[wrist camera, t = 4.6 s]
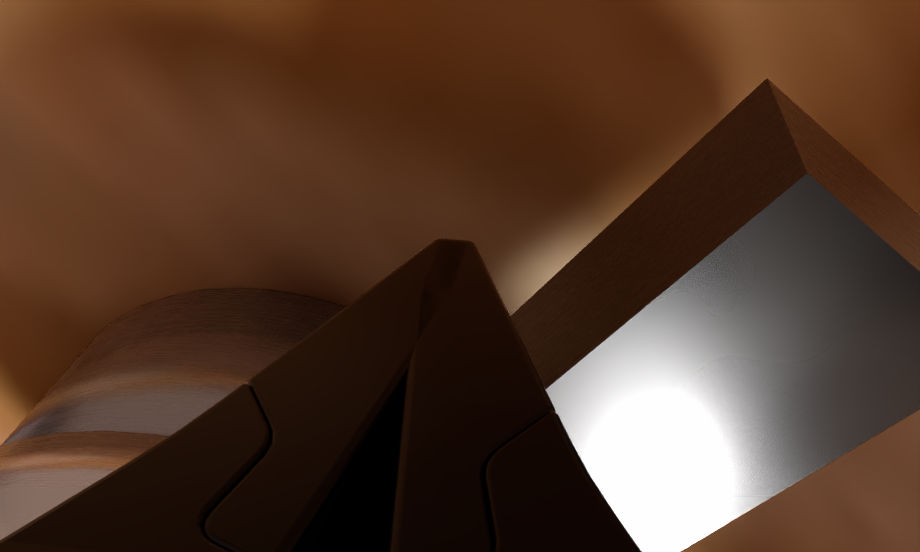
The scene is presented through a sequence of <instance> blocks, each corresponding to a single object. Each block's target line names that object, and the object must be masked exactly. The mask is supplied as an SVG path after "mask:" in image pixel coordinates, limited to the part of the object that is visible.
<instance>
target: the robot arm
mask: <svg viewBox="0 0 920 552" xmlns="http://www.w3.org/2000/svg"><path fill="white" fill-rule="evenodd" d="M0 552H642V551H641V550H640V548H639V547H638V546H637V544H636V543H635V541H634V540H633V539H632V537H631V536H630V534H629V533H628V531H627V530H626V529H625V527H624V526H623V524H622V523H621V521H620V520H619V519H618V517H617V516H616V514H615V513H614V511H613V510H612V508H611V507H610V505H609V504H608V502H607V501H606V499H605V497H604V496H603V494H602V493H601V491H600V490H599V488H598V487H597V485H596V484H595V482H594V481H593V479H592V478H591V476H590V474H589V472H588V471H587V469H586V467H585V465H584V463H583V462H582V460H581V458H580V456H579V454H578V452H577V451H576V449H575V447H574V445H573V443H572V441H571V440H570V438H569V435H568V433H567V431H566V429H565V427H564V425H563V423H562V421H561V419H560V417H559V415H558V414H557V413H556V411H555V408H554V406H553V404H552V401H551V399H550V397H549V395H548V393H547V391H546V389H545V387H544V385H543V383H542V381H541V379H540V377H539V375H538V373H537V371H536V369H535V367H534V365H533V363H532V360H531V358H530V356H529V354H528V352H527V350H526V348H525V346H524V344H523V342H522V340H521V338H520V336H519V334H518V332H517V330H516V328H515V326H514V324H513V322H512V319H511V317H510V315H509V313H508V311H507V309H506V307H505V305H504V303H503V301H502V299H501V297H500V295H499V293H498V291H497V289H496V287H495V285H494V283H493V281H492V278H491V276H490V274H489V272H488V270H487V268H486V266H485V264H484V262H483V260H482V258H481V256H480V254H479V252H478V250H477V248H476V246H475V244H474V243H473V242H471V241H465V240H451V239H438V240H436V241H434V242H433V243H431V244H430V245H429V246H427V247H426V248H425V249H423V250H422V251H421V252H419V253H418V254H417V255H415V256H414V257H413V258H411V259H410V260H409V261H407V262H406V263H404V264H403V265H402V266H400V267H399V268H398V269H396V270H395V271H394V272H392V273H391V274H390V275H388V276H387V277H386V278H384V279H383V280H382V281H380V282H379V283H378V284H376V285H375V286H374V287H372V288H371V289H370V290H368V291H367V292H366V293H364V294H363V295H362V296H360V297H359V298H358V299H356V300H355V301H354V302H352V303H351V304H350V305H348V306H347V307H346V308H344V309H343V310H341V311H340V312H339V313H337V314H336V315H335V316H333V317H332V318H331V319H329V320H328V321H327V322H325V323H324V324H323V325H321V326H320V327H319V328H317V329H316V330H315V331H313V332H312V333H311V334H309V335H308V336H307V337H305V338H304V339H303V340H301V341H300V342H299V343H297V344H296V345H295V346H293V347H292V348H291V349H289V350H288V351H287V352H285V353H284V354H283V355H281V356H280V357H278V358H277V359H276V360H274V361H273V362H272V363H270V364H269V365H268V366H266V367H265V368H264V369H262V370H261V371H260V372H258V373H257V374H256V375H254V376H253V377H252V378H250V379H249V381H248V384H242V385H240V386H239V387H238V388H236V389H235V390H234V391H232V392H231V393H230V394H228V395H227V396H226V397H224V398H223V399H222V400H220V401H219V402H218V403H216V404H215V405H213V406H212V407H211V408H209V409H208V410H206V411H205V412H204V413H202V414H201V415H199V416H198V417H196V418H195V419H194V420H192V421H191V422H189V423H188V424H186V425H185V426H184V427H182V428H181V429H179V430H178V431H177V432H175V433H173V434H172V435H170V436H169V437H167V438H166V439H164V440H162V441H161V442H159V443H158V444H156V445H155V446H153V447H151V448H150V449H148V450H147V451H145V452H144V453H142V454H140V455H139V456H137V457H136V458H134V459H133V460H131V461H129V462H128V463H126V464H125V465H123V466H121V467H120V468H118V469H116V470H115V471H113V472H111V473H110V474H108V475H107V476H105V477H103V478H102V479H100V480H98V481H97V482H95V483H93V484H92V485H90V486H88V487H87V488H85V489H83V490H82V491H80V492H79V493H77V494H75V495H74V496H72V497H70V498H69V499H67V500H65V501H64V502H62V503H60V504H59V505H57V506H55V507H54V508H52V509H51V510H49V511H47V512H46V513H44V514H42V515H41V516H39V517H37V518H36V519H34V520H32V521H31V522H29V523H27V524H26V525H24V526H22V527H21V528H19V529H18V530H16V531H14V532H13V533H11V534H9V535H8V536H6V537H4V538H3V539H1V540H0Z"/></svg>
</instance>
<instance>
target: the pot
mask: <svg viewBox="0 0 920 552" xmlns="http://www.w3.org/2000/svg"><path fill="white" fill-rule="evenodd" d="M344 308H346V307H343V306H340V305H336V304H333V303H329V302H326V301H322V300H318V299H315V298H311V297H307V296H302V295H296V294H290V293H284V292H278V291H272V290H258V289H240V288H229V289H213V290H199V291H194V292H189V293H184V294H178V295H173V296H169V297H166V298H163V299H160V300H157V301H154V302H151V303H148V304H145V305H143V306H140V307H139V308H137V309H135V310H133V311H131V312H129V313H127V314H125V315H124V316H122V317H120V318H118V319H117V320H115V321H114V322H113V323H112V324H110V325H109V326H108V327H106V328H105V329H104V330H103V331H101V332H100V333H99V334H98V335H97V336H96V337H95V338H94V339H93V341H92V342H91V343H90V344H89V345H88V346H87V347H86V349H85V350H84V351H83V352H82V353H81V354H80V355H79V357H78V358H77V359H76V360H75V361H74V362H73V364H72V365H71V366H70V367H69V368H68V369H67V370H66V372H65V373H64V374H63V375H62V376H61V377H60V378H59V380H58V381H57V382H56V383H55V384H54V385H53V387H52V388H51V389H50V390H49V391H48V392H47V393H46V395H45V396H44V397H43V398H42V399H41V400H40V401H39V403H38V404H37V405H36V406H35V407H34V408H33V410H32V411H31V412H30V413H29V414H28V415H27V416H26V418H25V419H24V420H23V421H22V422H21V423H20V424H19V426H18V427H17V428H16V429H15V430H14V431H13V433H12V434H11V435H10V436H9V437H8V438H7V439H6V441H5V442H4V443H3V444H2V445H4V444H7V443H10V442H13V441H16V440H19V439H24V438H30V437H36V436H42V435H48V434H54V433H60V432H81V431H120V432H135V433H149V434H158V435H164V436H170V435H172V434H173V433H175V432H177V431H178V430H179V429H181V428H182V427H184V426H185V425H186V424H188V423H189V422H191V421H192V420H194V419H195V418H196V417H198V416H199V415H201V414H202V413H204V412H205V411H206V410H208V409H209V408H211V407H212V406H213V405H215V404H216V403H218V402H219V401H220V400H222V399H223V398H224V397H226V396H227V395H228V394H230V393H231V392H232V391H234V390H235V389H236V388H238V387H239V386H240V385H242V384H248V381H249V379H250V378H252V377H253V376H254V375H256V374H257V373H258V372H260V371H261V370H262V369H264V368H265V367H266V366H268V365H269V364H270V363H272V362H273V361H274V360H276V359H277V358H278V357H280V356H281V355H283V354H284V353H285V352H287V351H288V350H289V349H291V348H292V347H293V346H295V345H296V344H297V343H299V342H300V341H301V340H303V339H304V338H305V337H307V336H308V335H309V334H311V333H312V332H313V331H315V330H316V329H317V328H319V327H320V326H321V325H323V324H324V323H325V322H327V321H328V320H329V319H331V318H332V317H333V316H335V315H336V314H337V313H339V312H340V311H341V310H343V309H344Z"/></svg>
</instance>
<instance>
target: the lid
mask: <svg viewBox="0 0 920 552" xmlns="http://www.w3.org/2000/svg"><path fill="white" fill-rule="evenodd" d="M510 317H511V319H512V322H513V324H514V326H515V328H516V330H517V332H518V334H519V336H520V338H521V340H522V342H523V344H524V346H525V348H526V350H527V352H528V354H529V356H530V358H531V360H532V363H533V365H534V367H535V369H536V371H537V373H538V375H539V377H540V379H541V381H542V383H543V385H544V387H545V389H546V391H547V393H548V395H549V397H550V399H551V401H552V404H553V406H554V408H555V411H556V413H557V414H558V415H559V417H560V419H561V421H562V423H563V425H564V427H565V429H566V431H567V433H568V435H569V438H570V440H571V441H572V443H573V445H574V447H575V449H576V451H577V452H578V454H579V456H580V458H581V460H582V462H583V463H584V465H585V467H586V469H587V471H588V472H589V474H590V476H591V478H592V479H593V481H594V482H595V484H596V485H597V487H598V488H599V490H600V491H601V493H602V494H603V496H604V497H605V499H606V501H607V502H608V504H609V505H610V507H611V508H612V510H613V511H614V513H615V514H616V516H617V517H618V519H619V520H620V521H621V523H622V524H623V526H624V527H625V529H626V530H627V531H628V533H629V534H630V536H631V537H632V539H633V540H634V541H635V543H636V544H637V546H638V547H639V548H640V550H641V551H642V552H680V551H682V550H684V549H686V548H687V547H689V546H691V545H692V544H694V543H696V542H697V541H699V540H701V539H702V538H704V537H706V536H707V535H709V534H711V533H712V532H714V531H716V530H718V529H719V528H721V527H723V526H724V525H726V524H728V523H729V522H731V521H733V520H734V519H736V518H738V517H739V516H741V515H743V514H744V513H746V512H748V511H749V510H751V509H753V508H755V507H756V506H758V505H760V504H761V503H763V502H765V501H766V500H768V499H770V498H771V497H773V496H775V495H776V494H778V493H780V492H781V491H783V490H785V489H786V488H788V487H790V486H792V485H793V484H795V483H797V482H798V481H800V480H802V479H803V478H805V477H807V476H808V475H810V474H812V473H813V472H815V471H817V470H818V469H820V468H822V467H823V466H825V465H827V464H829V463H830V462H832V461H834V460H835V459H837V458H839V457H840V456H842V455H844V454H845V453H847V452H849V451H850V450H852V449H854V448H855V447H857V446H859V445H861V444H862V443H864V442H866V441H867V440H869V439H871V438H872V437H874V436H876V435H877V434H879V433H881V432H882V431H884V430H886V429H887V428H889V427H891V426H892V425H894V424H896V423H898V422H899V421H901V420H903V419H904V418H906V417H908V416H909V415H911V414H913V413H914V412H916V411H918V410H919V409H920V216H919V215H918V214H917V213H916V212H915V211H914V210H913V209H912V208H911V207H909V206H908V205H907V204H906V203H905V202H904V201H903V200H902V199H901V198H899V197H898V196H897V195H896V194H895V193H894V192H893V191H892V190H891V189H889V188H888V187H887V186H886V185H885V184H884V183H883V182H882V181H881V180H879V179H878V178H877V177H876V176H875V175H874V174H873V173H872V172H871V171H870V170H868V169H867V168H866V167H865V166H864V165H863V164H862V163H861V162H860V161H858V160H857V159H856V158H855V157H854V156H853V155H852V154H851V153H850V152H848V151H847V150H846V149H845V148H844V147H843V146H842V145H841V144H840V143H838V142H837V141H836V140H835V139H834V138H833V137H832V136H831V135H830V134H828V133H827V132H826V131H825V130H824V129H823V128H822V127H821V126H820V125H818V124H817V123H816V122H815V121H814V120H813V119H812V118H811V117H810V116H808V115H807V114H806V113H805V112H804V111H803V110H802V109H801V108H800V107H798V106H797V105H796V104H795V103H794V102H793V101H792V100H791V99H790V98H788V97H787V96H786V95H785V94H784V93H783V92H782V91H781V90H780V89H778V88H777V87H776V86H775V85H774V84H773V83H772V82H771V81H770V80H769V79H766V80H764V81H763V82H762V83H761V84H760V85H759V86H758V87H757V88H756V89H755V90H754V91H753V92H752V93H750V94H749V95H748V96H747V97H746V98H745V99H744V100H743V101H742V102H741V103H740V104H739V105H738V106H736V107H735V108H734V109H733V110H732V111H731V112H730V113H729V114H728V115H727V116H726V117H725V118H724V119H722V120H721V121H720V122H719V123H718V124H717V125H716V126H715V127H714V128H713V129H712V130H711V131H710V132H708V133H707V134H706V135H705V136H704V137H703V138H702V139H701V140H700V141H699V142H698V143H697V144H696V145H694V146H693V147H692V148H691V149H690V150H689V151H688V152H687V153H686V154H685V155H684V156H683V157H682V158H680V159H679V160H678V161H677V162H676V163H675V164H674V165H673V166H672V167H671V168H670V169H669V170H668V171H666V172H665V173H664V174H663V175H662V176H661V177H660V178H659V179H658V180H657V181H656V182H655V183H654V184H652V185H651V186H650V187H649V188H648V189H647V190H646V191H645V192H644V193H643V194H642V195H641V196H640V197H638V198H637V199H636V200H635V201H634V202H633V203H632V204H631V205H630V206H629V207H628V208H627V209H626V210H624V211H623V212H622V213H621V214H620V215H619V216H618V217H617V218H616V219H615V220H614V221H613V222H612V223H611V224H609V225H608V226H607V227H606V228H605V229H604V230H603V231H602V232H601V233H600V234H599V235H598V236H597V237H595V238H594V239H593V240H592V241H591V242H590V243H589V244H588V245H587V246H586V247H585V248H584V249H583V250H581V251H580V252H579V253H578V254H577V255H576V256H575V257H574V258H573V259H572V260H571V261H570V262H569V263H567V264H566V265H565V266H564V267H563V268H562V269H561V270H560V271H559V272H558V273H557V274H556V275H555V276H553V277H552V278H551V279H550V280H549V281H548V282H547V283H546V284H545V285H544V286H543V287H542V288H541V289H539V290H538V291H537V292H536V293H535V294H534V295H533V296H532V297H531V298H530V299H529V300H528V301H527V302H525V303H524V304H523V305H522V306H521V307H520V308H519V309H518V310H517V311H516V312H515V313H514V314H513V315H511V316H510ZM167 437H169V436H164V435H158V434H149V433H135V432H120V431H81V432H60V433H54V434H48V435H42V436H36V437H30V438H24V439H19V440H16V441H13V442H10V443H7V444H4V445H1V446H0V540H1V539H3V538H4V537H6V536H8V535H9V534H11V533H13V532H14V531H16V530H18V529H19V528H21V527H22V526H24V525H26V524H27V523H29V522H31V521H32V520H34V519H36V518H37V517H39V516H41V515H42V514H44V513H46V512H47V511H49V510H51V509H52V508H54V507H55V506H57V505H59V504H60V503H62V502H64V501H65V500H67V499H69V498H70V497H72V496H74V495H75V494H77V493H79V492H80V491H82V490H83V489H85V488H87V487H88V486H90V485H92V484H93V483H95V482H97V481H98V480H100V479H102V478H103V477H105V476H107V475H108V474H110V473H111V472H113V471H115V470H116V469H118V468H120V467H121V466H123V465H125V464H126V463H128V462H129V461H131V460H133V459H134V458H136V457H137V456H139V455H140V454H142V453H144V452H145V451H147V450H148V449H150V448H151V447H153V446H155V445H156V444H158V443H159V442H161V441H162V440H164V439H166V438H167Z"/></svg>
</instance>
